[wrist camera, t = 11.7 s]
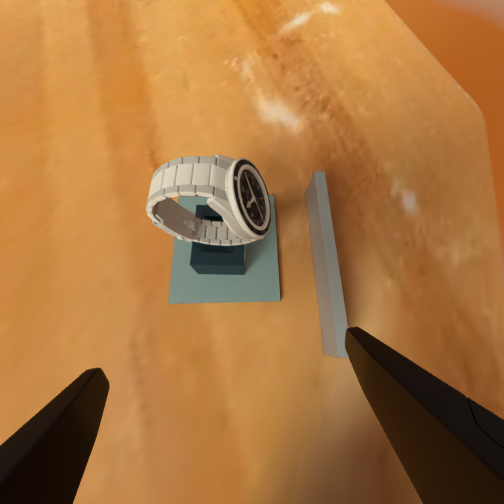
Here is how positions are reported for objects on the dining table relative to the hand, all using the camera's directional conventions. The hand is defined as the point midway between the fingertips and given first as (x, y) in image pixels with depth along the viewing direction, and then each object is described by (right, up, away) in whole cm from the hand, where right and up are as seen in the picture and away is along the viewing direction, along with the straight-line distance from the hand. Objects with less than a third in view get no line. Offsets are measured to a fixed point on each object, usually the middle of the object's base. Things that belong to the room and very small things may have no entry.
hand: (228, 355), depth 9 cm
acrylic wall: (+7, +3, +14) cm, 16 cm away
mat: (-2, +4, +15) cm, 15 cm away
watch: (-2, +4, +14) cm, 15 cm away
